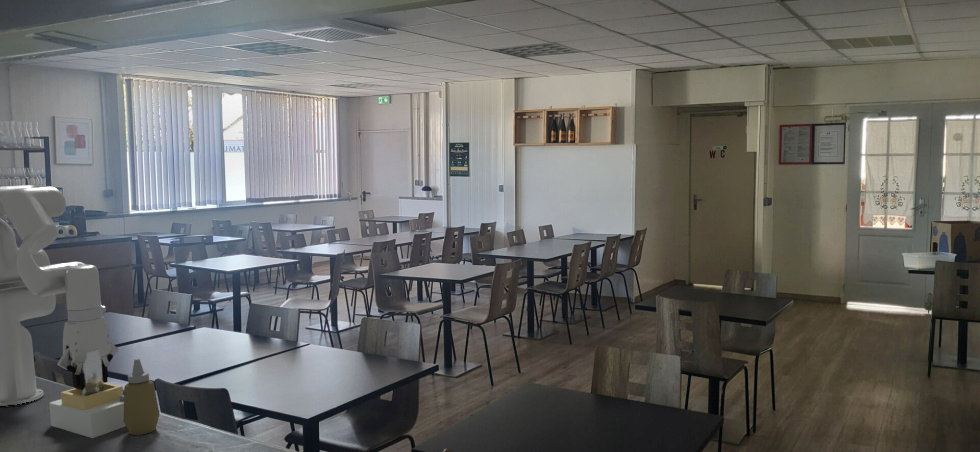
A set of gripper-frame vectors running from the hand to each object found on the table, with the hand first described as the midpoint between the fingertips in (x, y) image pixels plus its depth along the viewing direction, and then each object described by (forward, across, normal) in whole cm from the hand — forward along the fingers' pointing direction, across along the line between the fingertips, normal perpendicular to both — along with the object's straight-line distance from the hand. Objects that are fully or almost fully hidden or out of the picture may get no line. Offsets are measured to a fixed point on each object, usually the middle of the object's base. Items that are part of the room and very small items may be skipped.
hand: (91, 384), depth 186 cm
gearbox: (+10, 0, 0) cm, 10 cm away
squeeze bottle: (+10, -2, +16) cm, 19 cm away
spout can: (+3, 0, 0) cm, 3 cm away
